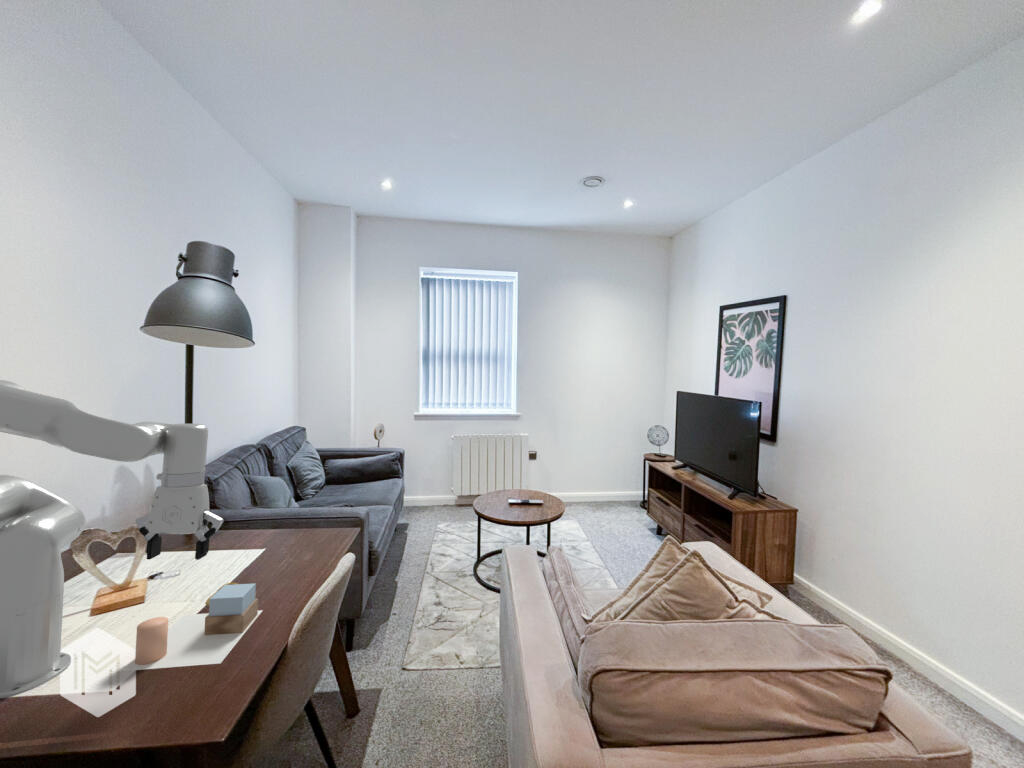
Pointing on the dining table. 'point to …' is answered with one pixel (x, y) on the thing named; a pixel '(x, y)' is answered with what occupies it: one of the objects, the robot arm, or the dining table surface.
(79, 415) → the robot arm
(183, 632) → the mat
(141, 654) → the cylinder
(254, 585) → the tower top
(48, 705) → the dining table surface
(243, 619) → the tower base
